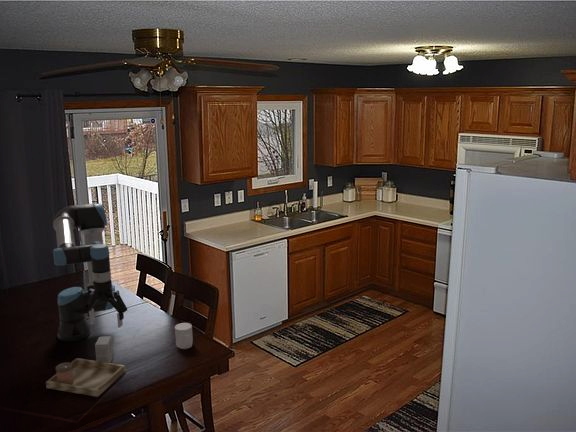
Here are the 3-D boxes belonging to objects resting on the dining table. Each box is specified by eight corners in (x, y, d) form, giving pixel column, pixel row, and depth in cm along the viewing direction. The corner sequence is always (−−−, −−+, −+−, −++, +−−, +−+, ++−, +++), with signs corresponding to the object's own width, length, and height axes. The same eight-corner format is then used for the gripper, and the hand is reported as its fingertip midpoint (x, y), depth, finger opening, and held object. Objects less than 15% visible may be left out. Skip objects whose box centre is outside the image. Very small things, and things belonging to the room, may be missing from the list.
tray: (46, 389, 217) (45, 382, 216) (77, 365, 236) (76, 357, 235) (98, 398, 211) (97, 390, 210) (125, 372, 230) (125, 365, 229)
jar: (54, 386, 218) (52, 369, 216) (64, 378, 224) (62, 361, 222) (67, 388, 216) (65, 371, 214) (77, 380, 222) (75, 363, 220)
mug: (172, 324, 254) (188, 320, 258) (173, 341, 257) (189, 338, 260) (179, 334, 244) (196, 330, 248) (180, 352, 246) (197, 349, 250)
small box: (101, 357, 243) (99, 336, 240) (113, 356, 243) (111, 335, 240) (96, 366, 235) (94, 344, 232) (109, 365, 235) (107, 344, 233)
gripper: (71, 280, 230) (76, 326, 235) (124, 285, 225) (128, 331, 230) (81, 274, 237) (85, 318, 242) (132, 278, 232) (136, 323, 237)
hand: (106, 324), depth 236 cm, fingers open, 13 cm apart
